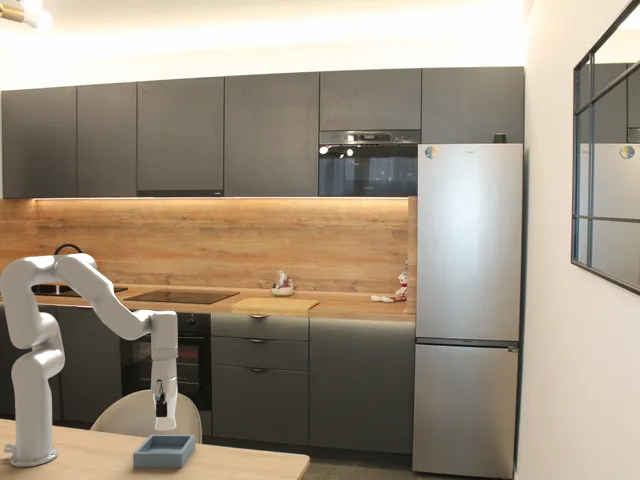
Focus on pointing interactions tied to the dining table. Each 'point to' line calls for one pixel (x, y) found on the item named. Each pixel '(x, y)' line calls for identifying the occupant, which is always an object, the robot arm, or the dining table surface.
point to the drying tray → (164, 451)
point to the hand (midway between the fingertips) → (165, 412)
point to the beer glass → (168, 408)
